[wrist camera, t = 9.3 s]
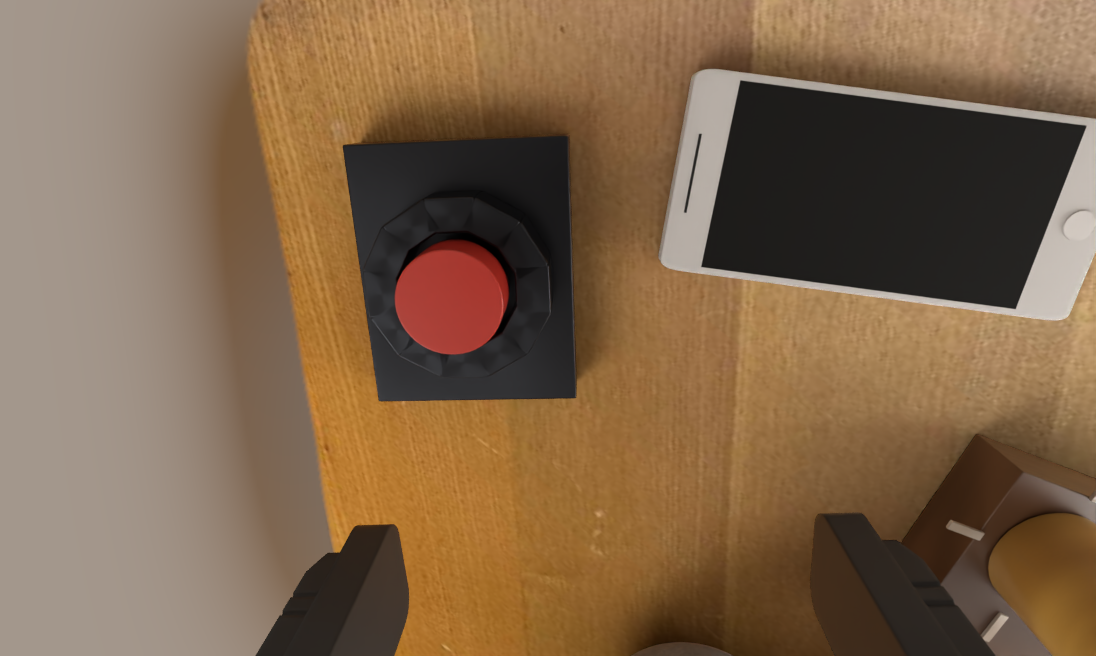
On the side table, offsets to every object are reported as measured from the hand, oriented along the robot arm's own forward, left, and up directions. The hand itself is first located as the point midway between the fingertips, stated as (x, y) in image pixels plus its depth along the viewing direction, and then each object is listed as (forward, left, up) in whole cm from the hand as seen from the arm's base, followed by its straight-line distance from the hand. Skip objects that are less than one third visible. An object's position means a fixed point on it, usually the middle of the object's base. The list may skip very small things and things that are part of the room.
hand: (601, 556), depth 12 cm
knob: (+2, +20, -11) cm, 23 cm away
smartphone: (-8, +8, -14) cm, 19 cm away
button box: (0, -5, -14) cm, 15 cm away
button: (0, -5, -11) cm, 12 cm away
